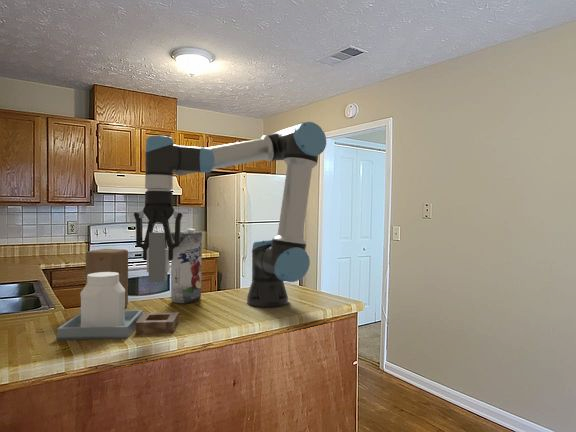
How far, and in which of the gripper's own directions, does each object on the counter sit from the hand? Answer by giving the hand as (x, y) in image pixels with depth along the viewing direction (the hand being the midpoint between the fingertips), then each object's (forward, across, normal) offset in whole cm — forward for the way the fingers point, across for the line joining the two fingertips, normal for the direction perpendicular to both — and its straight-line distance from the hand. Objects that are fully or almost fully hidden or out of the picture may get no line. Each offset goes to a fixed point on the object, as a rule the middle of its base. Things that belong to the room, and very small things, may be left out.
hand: (158, 271), depth 115 cm
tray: (+16, +15, 0) cm, 22 cm away
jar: (+16, +15, 0) cm, 22 cm away
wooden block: (+17, +21, -23) cm, 35 cm away
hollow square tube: (+16, 0, 0) cm, 16 cm away
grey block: (+3, 0, 0) cm, 3 cm away
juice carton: (+17, -4, -33) cm, 37 cm away
